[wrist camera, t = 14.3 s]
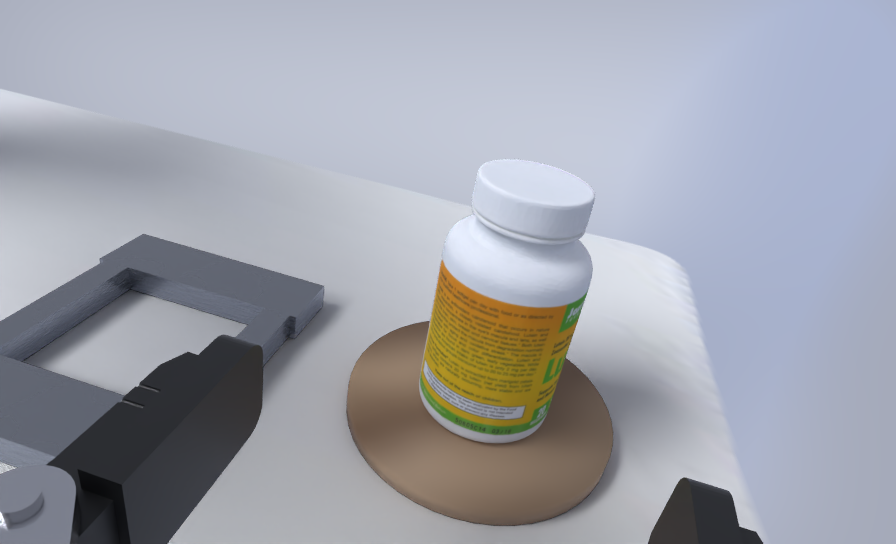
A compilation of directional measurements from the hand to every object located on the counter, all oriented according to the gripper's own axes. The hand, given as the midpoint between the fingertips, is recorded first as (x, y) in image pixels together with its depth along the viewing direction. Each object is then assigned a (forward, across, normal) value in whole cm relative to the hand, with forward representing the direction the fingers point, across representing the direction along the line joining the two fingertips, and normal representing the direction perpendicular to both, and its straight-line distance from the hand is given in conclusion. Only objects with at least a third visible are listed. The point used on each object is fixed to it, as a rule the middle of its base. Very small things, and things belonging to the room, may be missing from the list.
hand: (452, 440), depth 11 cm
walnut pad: (+11, 0, +9) cm, 14 cm away
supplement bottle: (+11, 0, +8) cm, 14 cm away
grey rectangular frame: (+9, +14, +9) cm, 19 cm away
